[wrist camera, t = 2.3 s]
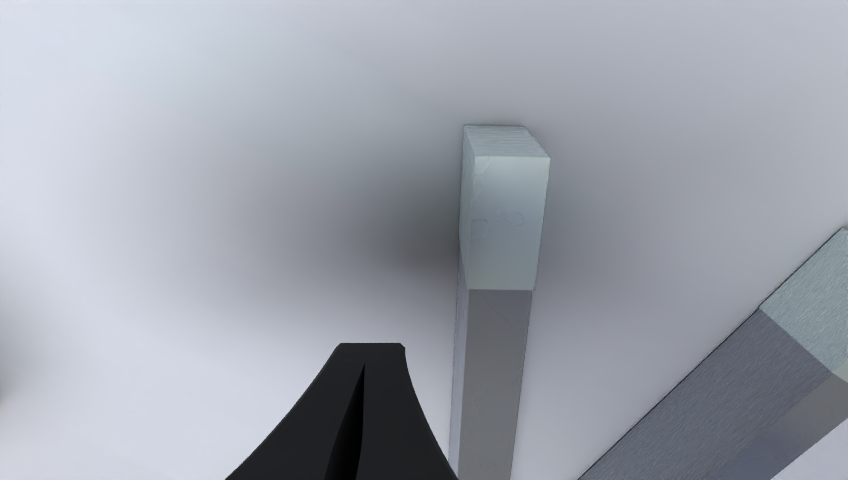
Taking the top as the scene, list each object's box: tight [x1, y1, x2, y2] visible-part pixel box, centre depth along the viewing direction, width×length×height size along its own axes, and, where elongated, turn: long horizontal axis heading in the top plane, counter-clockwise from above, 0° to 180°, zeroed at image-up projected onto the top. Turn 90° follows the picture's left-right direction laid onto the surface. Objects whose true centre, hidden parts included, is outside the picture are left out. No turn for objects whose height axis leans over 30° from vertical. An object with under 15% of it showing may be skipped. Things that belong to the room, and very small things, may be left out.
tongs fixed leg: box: [579, 228, 848, 480], centre depth 16 cm, size 18×3×3 cm, turn 147°
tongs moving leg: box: [448, 125, 551, 480], centre depth 15 cm, size 14×2×3 cm, turn 179°
